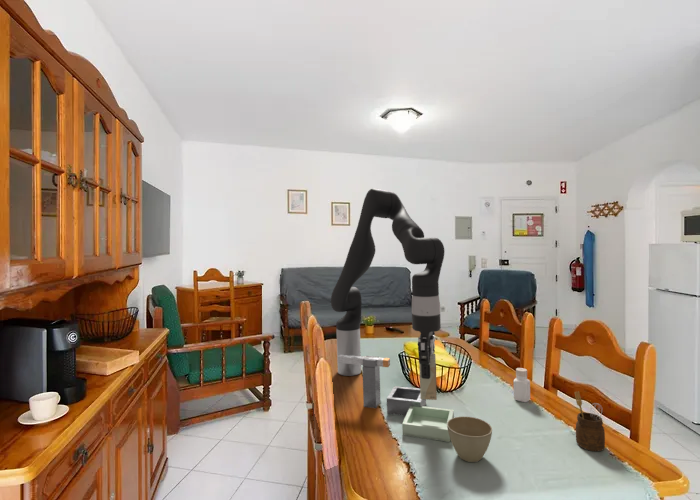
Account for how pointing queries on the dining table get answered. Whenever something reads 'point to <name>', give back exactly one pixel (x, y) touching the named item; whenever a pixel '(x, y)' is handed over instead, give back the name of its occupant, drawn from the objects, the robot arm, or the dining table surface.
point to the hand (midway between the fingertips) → (427, 374)
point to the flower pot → (469, 437)
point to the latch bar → (359, 360)
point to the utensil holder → (589, 429)
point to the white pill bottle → (521, 385)
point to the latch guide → (371, 383)
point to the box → (429, 381)
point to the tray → (427, 423)
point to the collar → (403, 400)
